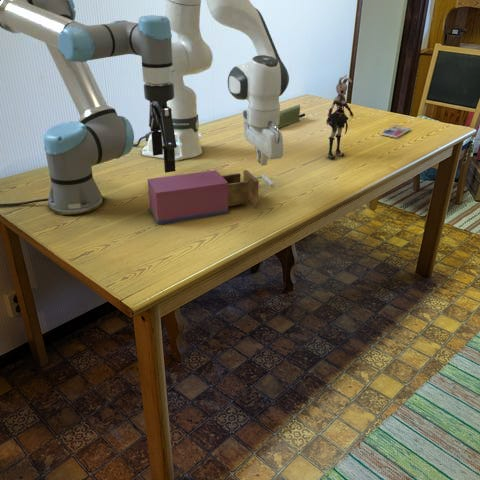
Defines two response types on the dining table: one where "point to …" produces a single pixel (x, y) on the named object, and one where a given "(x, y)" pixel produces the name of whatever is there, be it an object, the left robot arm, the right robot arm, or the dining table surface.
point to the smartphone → (395, 131)
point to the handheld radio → (289, 116)
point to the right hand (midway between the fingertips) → (262, 163)
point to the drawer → (244, 187)
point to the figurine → (338, 116)
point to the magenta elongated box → (188, 196)
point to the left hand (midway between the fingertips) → (163, 162)
